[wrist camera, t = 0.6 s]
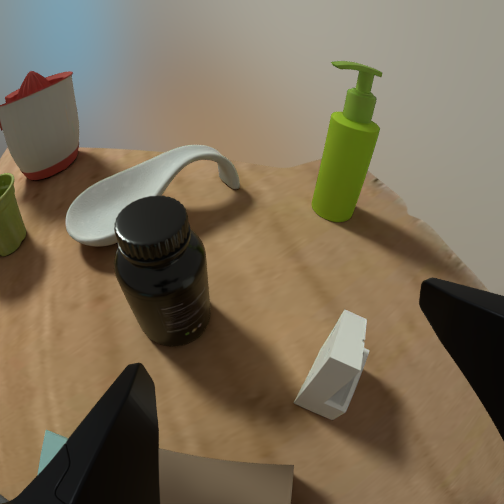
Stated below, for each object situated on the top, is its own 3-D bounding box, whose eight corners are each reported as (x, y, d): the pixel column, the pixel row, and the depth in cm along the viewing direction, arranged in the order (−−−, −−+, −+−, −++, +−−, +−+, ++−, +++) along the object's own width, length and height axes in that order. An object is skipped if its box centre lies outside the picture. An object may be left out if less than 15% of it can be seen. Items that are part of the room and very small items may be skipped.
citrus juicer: (21, 162, 46) (0, 82, 32) (89, 138, 52) (76, 53, 37) (4, 201, 37) (-30, 103, 22) (85, 172, 42) (63, 62, 28)
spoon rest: (83, 277, 28) (60, 229, 23) (67, 220, 34) (51, 177, 29) (254, 202, 39) (258, 155, 34) (210, 165, 45) (210, 124, 40)
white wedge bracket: (271, 444, 17) (330, 356, 14) (308, 371, 26) (348, 294, 23) (317, 464, 16) (389, 382, 13) (341, 386, 25) (387, 311, 22)
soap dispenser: (299, 195, 40) (325, 54, 26) (343, 195, 41) (377, 66, 27) (310, 222, 36) (346, 64, 22) (358, 222, 37) (404, 79, 23)
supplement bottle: (127, 311, 26) (84, 214, 17) (182, 275, 29) (167, 174, 21) (167, 364, 23) (126, 277, 14) (226, 320, 26) (226, 219, 17)
